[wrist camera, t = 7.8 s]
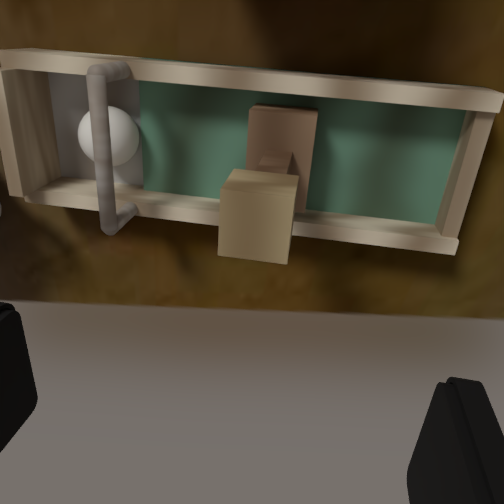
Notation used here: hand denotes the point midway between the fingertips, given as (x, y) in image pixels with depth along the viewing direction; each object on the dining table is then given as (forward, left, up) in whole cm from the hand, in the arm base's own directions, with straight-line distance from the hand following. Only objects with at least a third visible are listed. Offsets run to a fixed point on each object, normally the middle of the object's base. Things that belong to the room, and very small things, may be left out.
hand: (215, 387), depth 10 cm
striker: (0, 0, -22) cm, 22 cm away
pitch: (+3, 0, -24) cm, 24 cm away
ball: (+12, 0, -22) cm, 25 cm away
